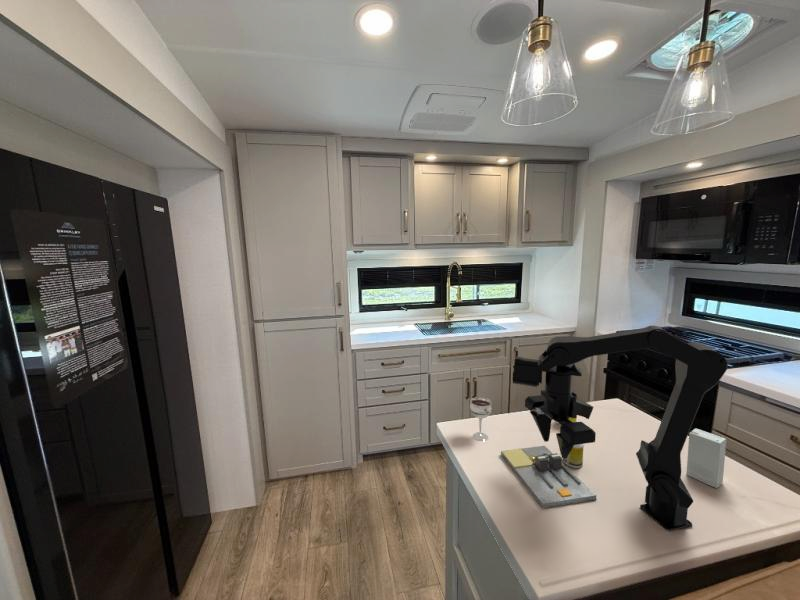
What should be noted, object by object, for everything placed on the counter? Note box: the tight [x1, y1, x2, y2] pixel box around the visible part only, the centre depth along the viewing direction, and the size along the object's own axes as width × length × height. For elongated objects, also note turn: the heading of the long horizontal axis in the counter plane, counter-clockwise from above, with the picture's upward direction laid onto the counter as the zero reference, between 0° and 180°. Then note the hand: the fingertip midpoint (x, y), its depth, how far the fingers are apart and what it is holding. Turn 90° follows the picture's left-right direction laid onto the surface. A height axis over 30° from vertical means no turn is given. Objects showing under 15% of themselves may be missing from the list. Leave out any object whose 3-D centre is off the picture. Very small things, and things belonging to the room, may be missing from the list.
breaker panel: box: [500, 445, 597, 509], centre depth 82 cm, size 20×14×2 cm
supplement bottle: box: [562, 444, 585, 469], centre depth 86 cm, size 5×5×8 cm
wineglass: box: [469, 396, 492, 442], centre depth 99 cm, size 7×7×12 cm
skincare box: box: [686, 428, 727, 489], centre depth 79 cm, size 6×4×12 cm
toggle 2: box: [549, 452, 563, 469], centre depth 83 cm, size 2×2×3 cm
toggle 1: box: [535, 455, 548, 471], centre depth 83 cm, size 2×2×3 cm
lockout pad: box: [501, 448, 533, 468], centre depth 87 cm, size 7×6×1 cm
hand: (554, 449), depth 77 cm, fingers open, 7 cm apart
